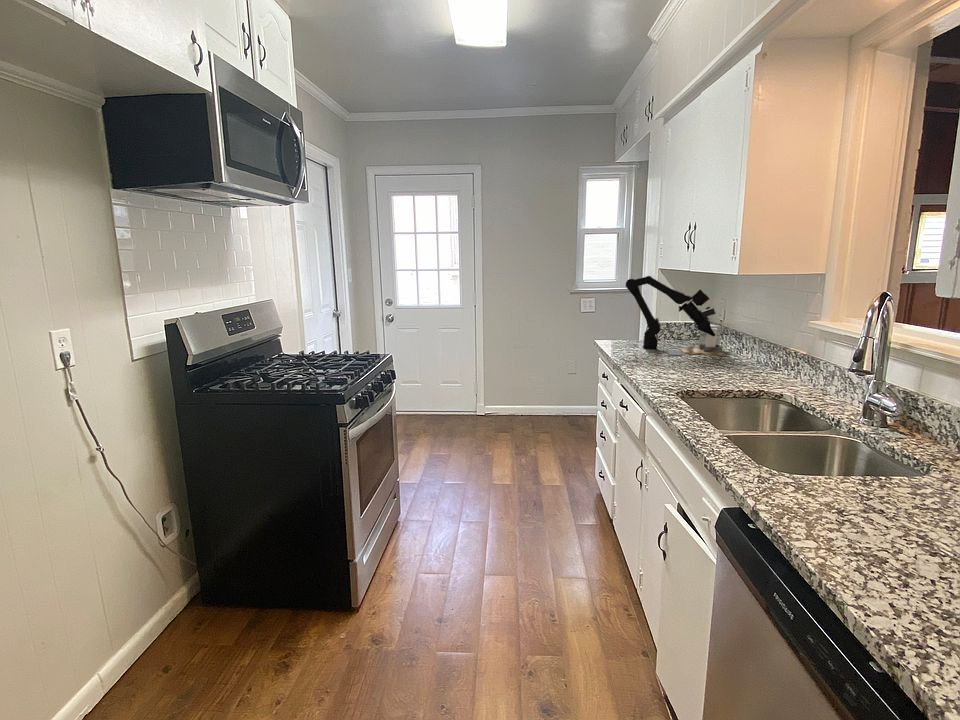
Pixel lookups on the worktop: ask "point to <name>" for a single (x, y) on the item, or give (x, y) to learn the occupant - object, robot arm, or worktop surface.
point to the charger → (711, 339)
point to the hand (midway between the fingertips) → (714, 335)
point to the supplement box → (703, 335)
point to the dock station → (702, 350)
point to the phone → (673, 353)
